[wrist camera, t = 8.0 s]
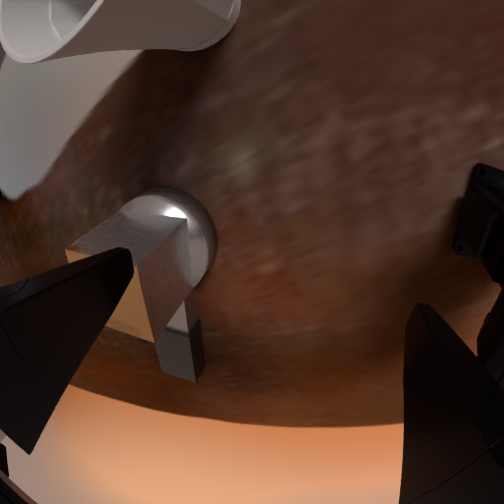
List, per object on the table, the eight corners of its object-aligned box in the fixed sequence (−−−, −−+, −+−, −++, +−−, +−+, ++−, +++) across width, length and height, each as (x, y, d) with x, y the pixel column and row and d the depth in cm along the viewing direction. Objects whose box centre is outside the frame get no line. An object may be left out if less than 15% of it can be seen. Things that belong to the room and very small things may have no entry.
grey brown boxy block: (187, 218, 20) (136, 266, 15) (193, 287, 23) (154, 342, 18) (120, 209, 21) (64, 249, 16) (132, 273, 24) (88, 319, 19)
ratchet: (125, 182, 23) (74, 211, 18) (218, 191, 21) (177, 227, 16) (156, 350, 33) (131, 389, 28) (222, 370, 31) (201, 415, 26)
